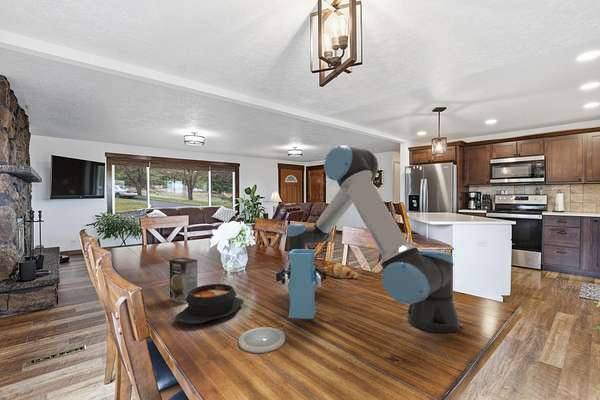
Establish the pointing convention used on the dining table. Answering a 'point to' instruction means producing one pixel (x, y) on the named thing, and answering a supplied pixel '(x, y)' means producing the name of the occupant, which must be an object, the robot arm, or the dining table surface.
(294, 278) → the vase
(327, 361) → the dining table surface
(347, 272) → the croissant
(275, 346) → the plate
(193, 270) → the coffee box
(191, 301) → the casserole
